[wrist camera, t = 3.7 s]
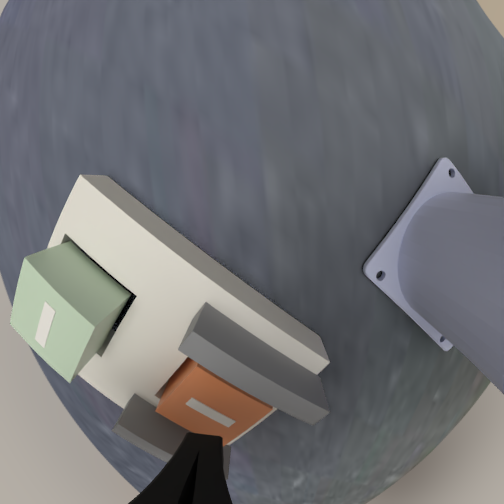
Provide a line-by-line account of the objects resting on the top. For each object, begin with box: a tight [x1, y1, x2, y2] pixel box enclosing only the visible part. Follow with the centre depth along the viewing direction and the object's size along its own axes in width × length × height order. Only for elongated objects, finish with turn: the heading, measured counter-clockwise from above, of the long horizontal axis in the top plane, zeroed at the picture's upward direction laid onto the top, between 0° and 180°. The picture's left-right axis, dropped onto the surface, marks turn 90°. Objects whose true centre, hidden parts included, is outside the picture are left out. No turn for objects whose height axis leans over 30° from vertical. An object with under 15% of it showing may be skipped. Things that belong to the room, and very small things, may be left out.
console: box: [47, 175, 330, 480], centre depth 12 cm, size 14×10×5 cm
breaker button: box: [155, 357, 273, 446], centre depth 13 cm, size 4×4×3 cm
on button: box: [10, 241, 131, 383], centre depth 10 cm, size 4×4×3 cm
